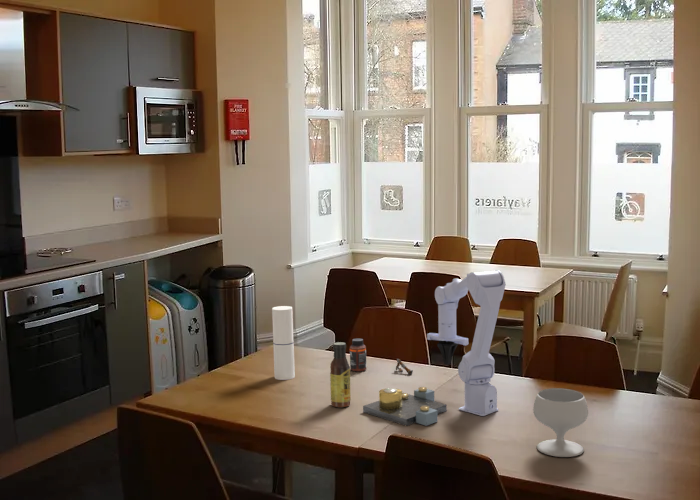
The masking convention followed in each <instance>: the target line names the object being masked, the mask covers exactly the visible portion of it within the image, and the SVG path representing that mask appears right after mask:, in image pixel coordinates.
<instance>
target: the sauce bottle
mask: <svg viewBox="0 0 700 500" xmlns="http://www.w3.org/2000/svg"><path fill="white" fill-rule="evenodd" d="M332 344H333V345H332V348H333V359H332V361H331V363H330V373H329V374H330V375H329V377H330V379H329V381H330V402H331V403H330V405H331V406H332V407H333V408H338V409H339V408H341V409H342V408H346V407H349V406H350V405H351V400H352V399H351V369H350V363H349V362H348V359H347V354H346V352H347V351H346V348H347V344H346V342H341V341H340V342H339V341H337V342H334V343H332Z"/></svg>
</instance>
